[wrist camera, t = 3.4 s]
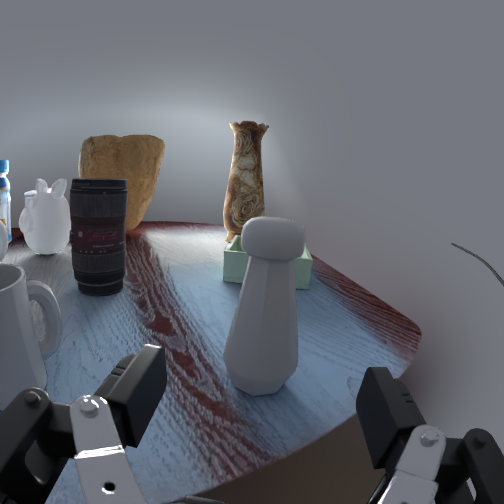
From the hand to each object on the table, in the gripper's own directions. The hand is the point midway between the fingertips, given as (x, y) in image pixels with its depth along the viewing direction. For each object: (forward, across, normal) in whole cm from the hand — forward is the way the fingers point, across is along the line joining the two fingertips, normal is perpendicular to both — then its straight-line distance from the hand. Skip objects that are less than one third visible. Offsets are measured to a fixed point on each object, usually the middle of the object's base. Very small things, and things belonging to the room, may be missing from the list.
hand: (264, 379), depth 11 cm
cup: (+3, +18, +8) cm, 20 cm away
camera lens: (+24, +23, +8) cm, 34 cm away
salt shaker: (+10, 0, +8) cm, 13 cm away
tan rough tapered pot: (+59, +39, +8) cm, 71 cm away
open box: (+40, 0, +8) cm, 41 cm away
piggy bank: (+35, +43, +8) cm, 56 cm away
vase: (+65, +7, +8) cm, 66 cm away
